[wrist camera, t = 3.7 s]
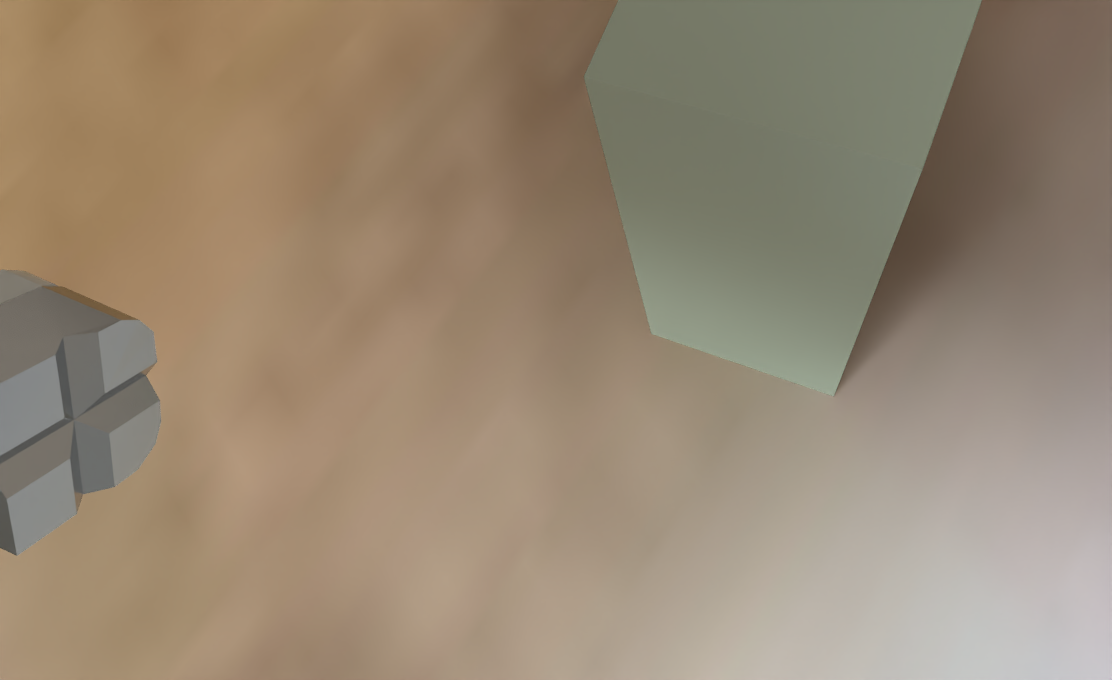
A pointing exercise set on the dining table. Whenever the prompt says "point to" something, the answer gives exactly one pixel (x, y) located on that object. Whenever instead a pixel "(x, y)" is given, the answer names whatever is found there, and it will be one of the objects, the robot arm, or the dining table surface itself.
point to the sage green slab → (769, 162)
